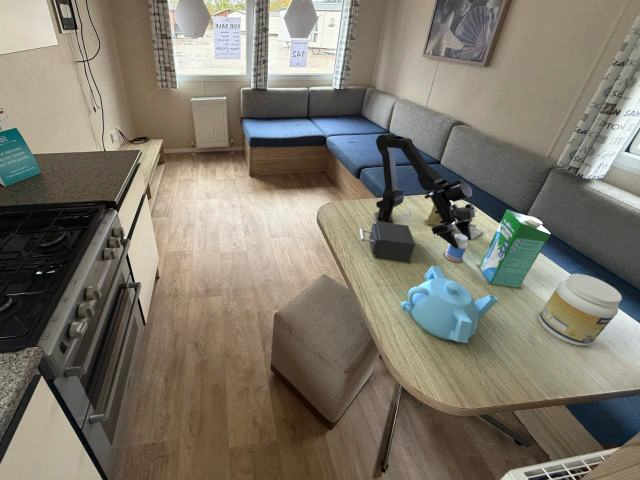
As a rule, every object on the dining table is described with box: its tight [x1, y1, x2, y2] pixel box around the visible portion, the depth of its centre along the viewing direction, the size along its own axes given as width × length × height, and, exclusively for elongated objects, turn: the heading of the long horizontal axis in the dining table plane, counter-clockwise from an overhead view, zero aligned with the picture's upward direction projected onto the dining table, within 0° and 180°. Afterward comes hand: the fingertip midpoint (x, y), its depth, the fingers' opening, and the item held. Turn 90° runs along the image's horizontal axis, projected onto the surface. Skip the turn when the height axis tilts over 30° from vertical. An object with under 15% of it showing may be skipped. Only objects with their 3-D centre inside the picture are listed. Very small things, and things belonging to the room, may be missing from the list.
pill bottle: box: [445, 233, 468, 263], centre depth 116 cm, size 6×5×10 cm
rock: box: [425, 204, 442, 226], centre depth 137 cm, size 11×9×10 cm
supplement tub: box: [538, 273, 623, 347], centre depth 87 cm, size 12×12×17 cm
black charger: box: [374, 220, 416, 264], centre depth 119 cm, size 12×13×9 cm
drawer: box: [359, 223, 379, 256], centre depth 120 cm, size 16×11×7 cm
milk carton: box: [479, 209, 551, 288], centre depth 104 cm, size 9×9×25 cm
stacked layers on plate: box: [453, 217, 483, 240], centre depth 134 cm, size 10×9×6 cm
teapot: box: [400, 265, 499, 344], centre depth 90 cm, size 19×19×14 cm
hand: (463, 244), depth 114 cm, fingers open, 9 cm apart
